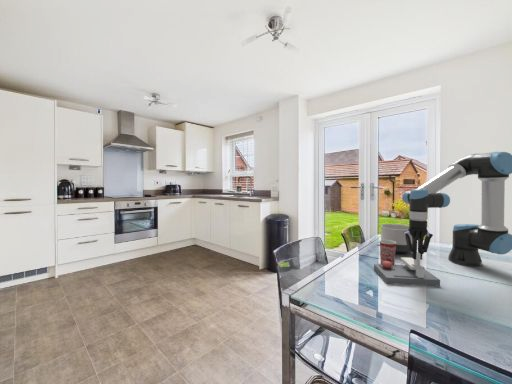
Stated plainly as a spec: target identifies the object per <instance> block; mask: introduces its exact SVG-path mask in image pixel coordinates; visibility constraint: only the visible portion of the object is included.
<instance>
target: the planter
mask: <svg viewBox="0 0 512 384" xmlns="http://www.w3.org/2000/svg"><path fill="white" fill-rule="evenodd" d="M380 227H381V228H380V240H391V241H395V242H396V243H397V244H396V251H395V254H406V253H407V252H410V251H409V250H408V247H407V242H406V238H405V236H404V234H403V233H404V232H405V233H406V232H407V231H408V230H409V225H408V224H407V225H406V224H402V223H401V224H400V223H399V224H398V223H384V224H383V223H382V224H381V226H380ZM410 239H411V244H412V236H411V234H410Z"/></svg>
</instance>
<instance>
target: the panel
mask: <svg viewBox="0 0 512 384" xmlns="http://www.w3.org/2000/svg"><path fill="white" fill-rule="evenodd" d="M373 270H374V271H375V272H376V273H377V274H378V276H380V278H381V279H382V281H384V282H385V284H389V285H390V284H391V285H392V284H393V285H410V286H411V285H414V286H431V287H432V286H433V287H441V279H440V278H438V277H436V275H434V274H433V273H431V272H430V271H428V270H427V269H424V278H418V277H417V276H416V270H411V269H410V268H409V267H408V266H407V265H406V264H394V265H392V268H384V267H383V266H382V263H374V264H373Z"/></svg>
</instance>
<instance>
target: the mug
mask: <svg viewBox="0 0 512 384" xmlns="http://www.w3.org/2000/svg"><path fill="white" fill-rule="evenodd" d="M396 244H397V243H396V242H395V241H391V240H381V239H380V240H379V253H380V254H379V255H380V264H382V262H383V261H389V262H391V263H392V265H395V259H396V253H395V251H396Z"/></svg>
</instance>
